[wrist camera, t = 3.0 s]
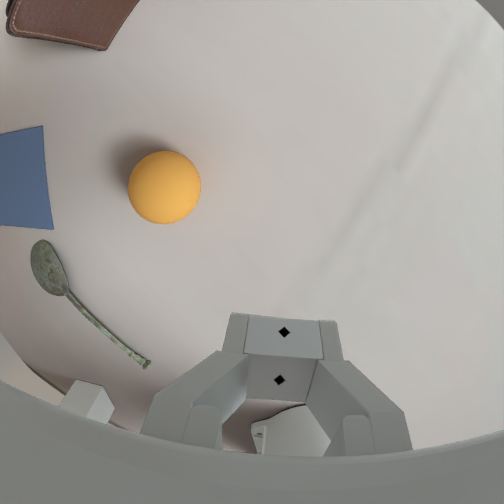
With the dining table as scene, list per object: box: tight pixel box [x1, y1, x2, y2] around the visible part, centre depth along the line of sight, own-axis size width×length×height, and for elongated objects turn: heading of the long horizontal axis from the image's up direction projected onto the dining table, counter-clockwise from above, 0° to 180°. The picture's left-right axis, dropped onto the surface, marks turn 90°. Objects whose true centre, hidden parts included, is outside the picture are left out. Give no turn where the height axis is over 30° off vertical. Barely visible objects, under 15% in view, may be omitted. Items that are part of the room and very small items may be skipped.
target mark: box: [0, 126, 54, 230], centre depth 29 cm, size 12×12×1 cm
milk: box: [59, 380, 115, 424], centre depth 34 cm, size 6×6×22 cm
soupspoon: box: [31, 240, 151, 370], centre depth 35 cm, size 22×3×7 cm
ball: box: [128, 151, 201, 224], centre depth 24 cm, size 6×6×6 cm
